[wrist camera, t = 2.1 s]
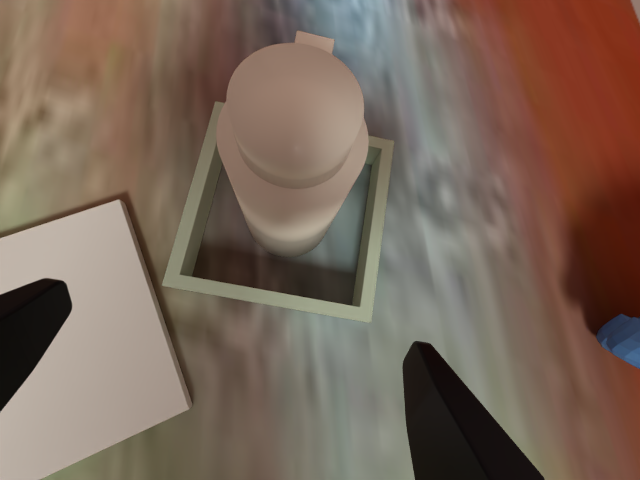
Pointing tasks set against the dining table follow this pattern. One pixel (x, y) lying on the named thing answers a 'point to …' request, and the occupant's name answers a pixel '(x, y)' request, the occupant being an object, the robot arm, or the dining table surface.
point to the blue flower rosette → (622, 338)
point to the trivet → (88, 346)
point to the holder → (360, 310)
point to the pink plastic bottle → (292, 141)
